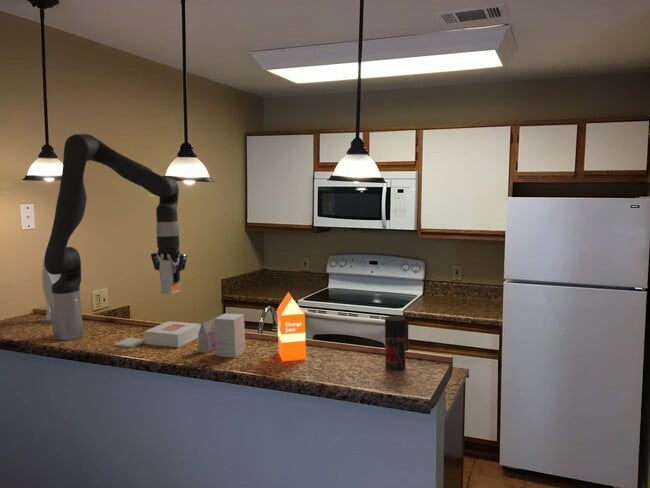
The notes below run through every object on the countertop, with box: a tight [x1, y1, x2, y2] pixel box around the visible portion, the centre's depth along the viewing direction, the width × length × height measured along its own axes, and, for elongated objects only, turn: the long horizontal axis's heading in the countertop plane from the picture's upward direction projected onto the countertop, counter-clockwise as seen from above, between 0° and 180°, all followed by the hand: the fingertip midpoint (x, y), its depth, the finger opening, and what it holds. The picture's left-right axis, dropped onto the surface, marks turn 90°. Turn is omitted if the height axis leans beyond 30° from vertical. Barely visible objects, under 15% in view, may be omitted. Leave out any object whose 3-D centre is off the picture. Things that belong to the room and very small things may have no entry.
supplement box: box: [213, 312, 247, 359], centre depth 176 cm, size 7×7×13 cm
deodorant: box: [384, 315, 406, 372], centre depth 160 cm, size 6×6×15 cm
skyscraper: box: [41, 253, 61, 325], centre depth 223 cm, size 8×8×28 cm
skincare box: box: [159, 260, 180, 295], centre depth 191 cm, size 6×4×12 cm
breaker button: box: [163, 325, 184, 331], centre depth 193 cm, size 5×7×4 cm
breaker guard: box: [143, 320, 201, 348], centre depth 193 cm, size 14×14×4 cm
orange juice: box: [276, 291, 307, 362], centre depth 172 cm, size 8×9×20 cm
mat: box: [113, 337, 145, 348], centre depth 190 cm, size 8×8×1 cm
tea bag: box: [197, 318, 216, 354], centre depth 181 cm, size 4×7×10 cm, turn 146°
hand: (170, 282), depth 191 cm, fingers closed on skincare box, 4 cm apart
